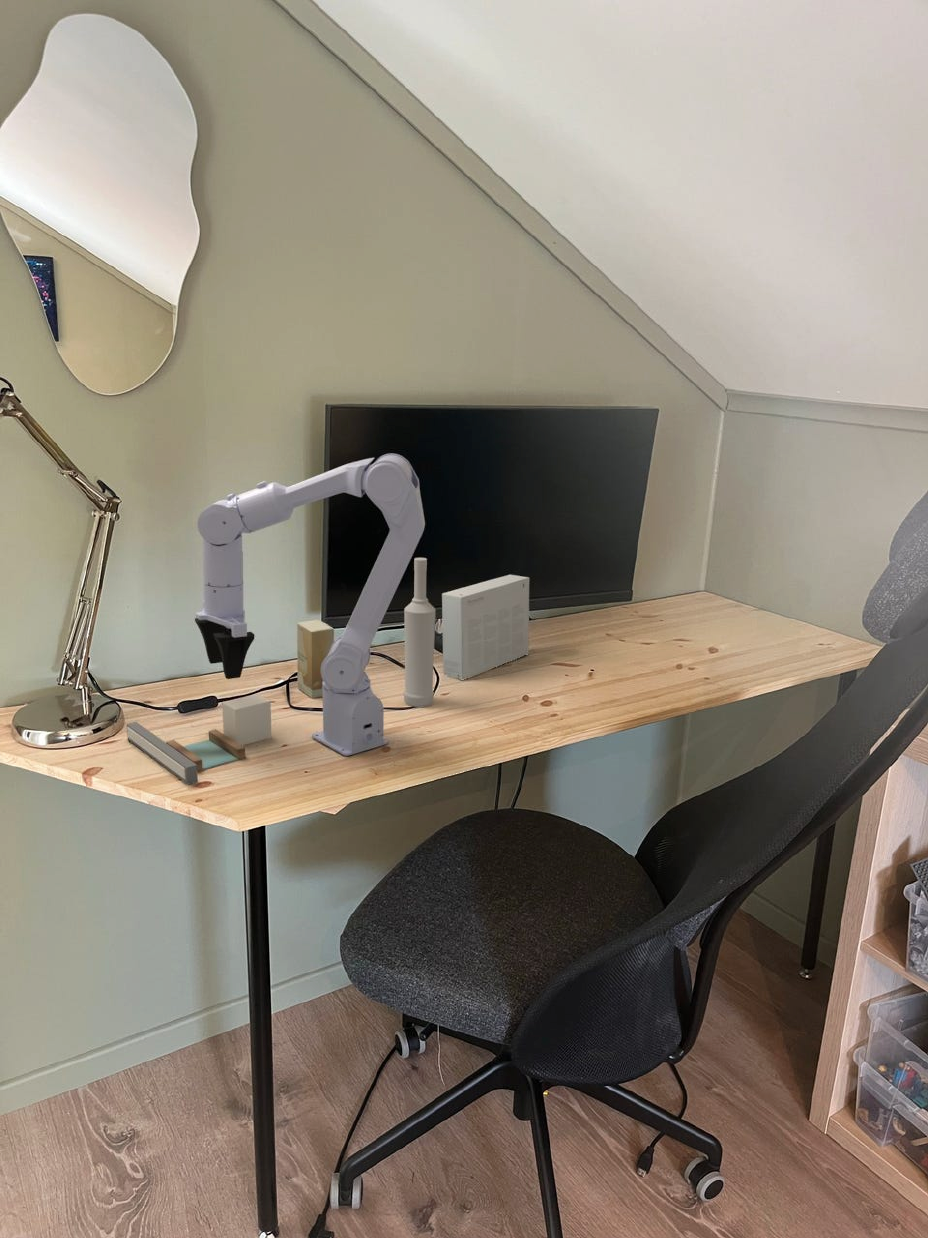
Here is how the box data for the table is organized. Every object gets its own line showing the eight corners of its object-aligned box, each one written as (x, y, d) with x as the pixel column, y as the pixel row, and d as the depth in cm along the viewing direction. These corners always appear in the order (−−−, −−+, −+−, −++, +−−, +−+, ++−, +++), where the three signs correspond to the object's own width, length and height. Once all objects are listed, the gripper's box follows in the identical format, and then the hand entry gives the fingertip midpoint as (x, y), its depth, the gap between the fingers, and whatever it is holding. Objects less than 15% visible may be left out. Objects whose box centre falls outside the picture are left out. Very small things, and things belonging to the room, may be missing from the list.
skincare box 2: (507, 650, 196) (510, 573, 191) (529, 655, 192) (533, 577, 188) (439, 674, 180) (441, 591, 175) (462, 681, 176) (464, 597, 172)
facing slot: (245, 757, 142) (245, 747, 141) (194, 772, 136) (194, 761, 136) (216, 739, 148) (215, 729, 148) (166, 752, 143) (166, 742, 142)
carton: (271, 737, 149) (270, 701, 148) (236, 747, 145) (235, 709, 144) (258, 729, 152) (256, 693, 151) (223, 738, 148) (221, 702, 147)
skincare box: (296, 688, 171) (295, 621, 167) (319, 684, 173) (318, 618, 170) (312, 699, 165) (311, 631, 162) (335, 695, 168) (334, 627, 164)
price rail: (197, 781, 134) (196, 764, 133) (186, 784, 133) (185, 768, 132) (137, 737, 148) (136, 721, 147) (126, 739, 147) (125, 724, 146)
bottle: (426, 709, 162) (429, 563, 155) (398, 704, 164) (399, 560, 157) (438, 699, 167) (441, 557, 160) (410, 695, 169) (412, 554, 162)
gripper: (182, 573, 147) (184, 659, 150) (212, 596, 135) (213, 688, 138) (227, 570, 150) (228, 653, 154) (260, 592, 138) (260, 682, 142)
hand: (224, 669), depth 146 cm, fingers open, 7 cm apart
